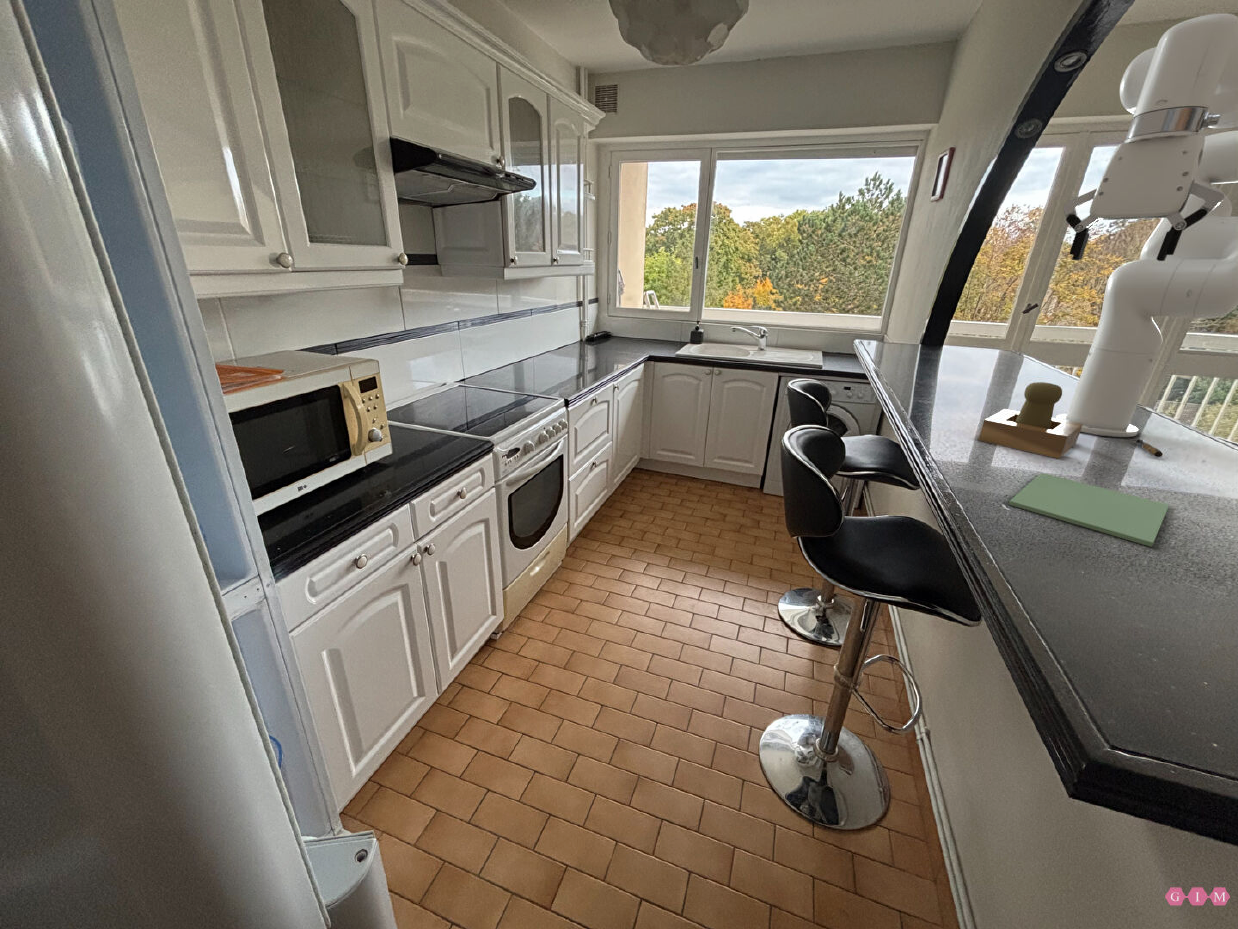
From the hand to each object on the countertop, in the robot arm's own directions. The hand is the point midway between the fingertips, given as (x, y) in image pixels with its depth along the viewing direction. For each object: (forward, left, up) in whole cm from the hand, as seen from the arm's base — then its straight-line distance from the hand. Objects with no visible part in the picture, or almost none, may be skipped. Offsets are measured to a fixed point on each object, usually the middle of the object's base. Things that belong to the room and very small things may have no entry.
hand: (1116, 260), depth 78 cm
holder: (-2, -4, -31) cm, 31 cm away
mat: (+24, +9, -31) cm, 41 cm away
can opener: (-14, +11, -31) cm, 36 cm away
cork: (-2, -4, -31) cm, 32 cm away
